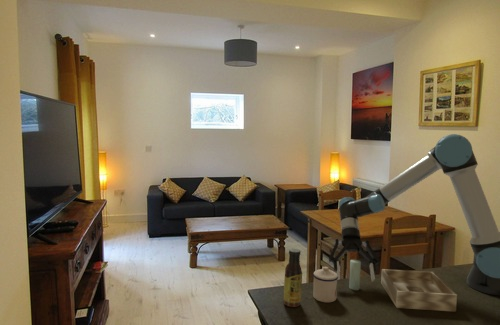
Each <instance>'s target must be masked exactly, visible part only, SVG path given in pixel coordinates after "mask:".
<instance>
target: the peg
mask: <svg viewBox="0 0 500 325" xmlns="http://www.w3.org/2000/svg"><path fill="white" fill-rule="evenodd" d="M361 264H362V262H361V260H359V259H350V261H349V278H348V279H349V280H348V281H349V282H348V283H349V284H348V286H349V289H350V290H351V291H359V290H360V289H361V288H360V283H361V266H362V265H361Z"/></svg>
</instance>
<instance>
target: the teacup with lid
mask: <svg viewBox="0 0 500 325" xmlns="http://www.w3.org/2000/svg"><path fill="white" fill-rule="evenodd" d="M312 275H313V276H312V277H313V285H312V286H313V289H312V291H313V292H312V295H313V298H314V299H315V300H316V301H318V302H321V303H325V304H326V303H333V302H335V301H336V300H337V294H338V280H337V279H338V275H337V272H336V271H333V270H332V269H330V268H329V266H323V267H322V268H321V269H319V268H318V269H316V270H314V272H313V274H312Z"/></svg>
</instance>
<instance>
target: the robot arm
mask: <svg viewBox="0 0 500 325" xmlns="http://www.w3.org/2000/svg"><path fill="white" fill-rule="evenodd" d="M477 166H478V161H477V158H476V156H475V154H474V151H473V146H472V144H471V142H470V141H469V139H467V138H466V137H465V136H463V135H461V134H455V133H454V134H453V133H452V134H447V135H445V136H443V137H441V138H440V139H439V140H438V141H437V143H436V145H435V146H434V147H433V148H431V149H429V151H428V153H427V155H425V156H424V157H422V158H421V159H420V160H418V161H417V162H415V163H414V164H412V165H411V166H410V167H407V169H405V170H403V171H402V172H401V173H398V175H396V176H395V177H393V178H392V179H390V180H389V181H388V182H386V183H385V184H383V185H381V186H380V187H379V188H377V189H376V190H374V191H372V192H371V193H369V194H368V195H367V196H365V197H362V198H359V199H355V198H353V197H350V196H348V197H346V196H345V197H342V198H341V199H340V200H339V202H338V211H339V212H338V213H339V219H340V230H341V239H340V240H339V239H338V238H336V239H335V241H334V246H333V249H332V251H331V252H330V255H329V258H328V262H330V263H332V264H333V270H334V272H336V273H337V275H338V279H337V281H340V280H341V273H340V272H341V271H340V270H341V269H340V261H339V260H340V258H341V257H343V255H344V254H345V253H346V252H354V253H357V252H358V254H359V255H361V256H362V257H363V258H364V259H365V260H366V261H367V262H368V263H369V274H370V281H371V282H372V283H373V282H375V280H376V277H375V275H376V273H377V266H376V265H378V264H379V263H380V259H379V257H378V256H377V254H376V253H375V251H374V250H373V248H372V246H371V245H370V241H369V240H366V241H362V240H361V232H360V226H359V218H361V217H364V216H365V217H366V216H369V215H373V214H378V213H381V212H383V211H385V210H386V204H388V203H389V202H391V201H392V200H394V199H395V198H397V197H398V196H400V195H402V194H403V193H406V191H408V190H409V189H411V188H412V187H414V186H416V185H418V184H419V183H420V182H422V181H423V180H425V179H427V178H429V177H430V176H431V175H433V174H434V173H436V172H437V171H440V170H442V173H443V174H444V175H446V176H448V177H449V178H450V181H451V183H452V187H453V189H454V191H455V193H456V197H457V199H458V202H459V204H460V207H461V210H462V213H463V216H464V219H465V221H466V224H467V226H468V229H469V231H470V234H471V238H470V239H469V244H470V247H471V249H472V252H473V261H472V266H471V269H470V270H469V273H468V275H467V276H466V284H467V285H468V286H469V287H470V288H471V289H473V290H476V291H478V292H481V293H484V294H488V295H492V296H498V297H500V231H499V228H498V225H497V224H496V220H495V219H494V214H493V213H492V211H491V208H490V205H489V202H488V201H487V197H486V195H485V191H484V190H483V187H482V185H481V182H480V179H479V177H478V174H477V172H476V168H477ZM340 245H341V246H342V249H341V250H340V251H339V253H338V254H337V255H336V256H335V254H336V252H337V250H338V247H339V246H340ZM364 248H365V250H366V251H365V250H364ZM367 252H368V253H367Z"/></svg>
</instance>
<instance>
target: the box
mask: <svg viewBox="0 0 500 325" xmlns="http://www.w3.org/2000/svg"><path fill="white" fill-rule="evenodd" d="M380 276H381V277H380V280H381V281H380V283H381V285H382V287H383V289H384V290H385V292H386V293H387V295H388V296H389V298H390V300H391V301H392V303H393V304H394V306H395V307H396V308H397V309H409V310H410V309H411V310H412V309H413V310H425V311H427V310H428V311H441V312H442V311H443V312H457V299H458V294H457V293H456V292H454V291H453V289H451V288H450V287H449V285H447V284H446V283H445V282H444V281H443V280H442V279H441V278H440V277H439V276H438V275H436V274H435V272H434V271H421V270H406V269H405V270H404V269H387V268H386V269H385V268H382V269H381V275H380Z"/></svg>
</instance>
